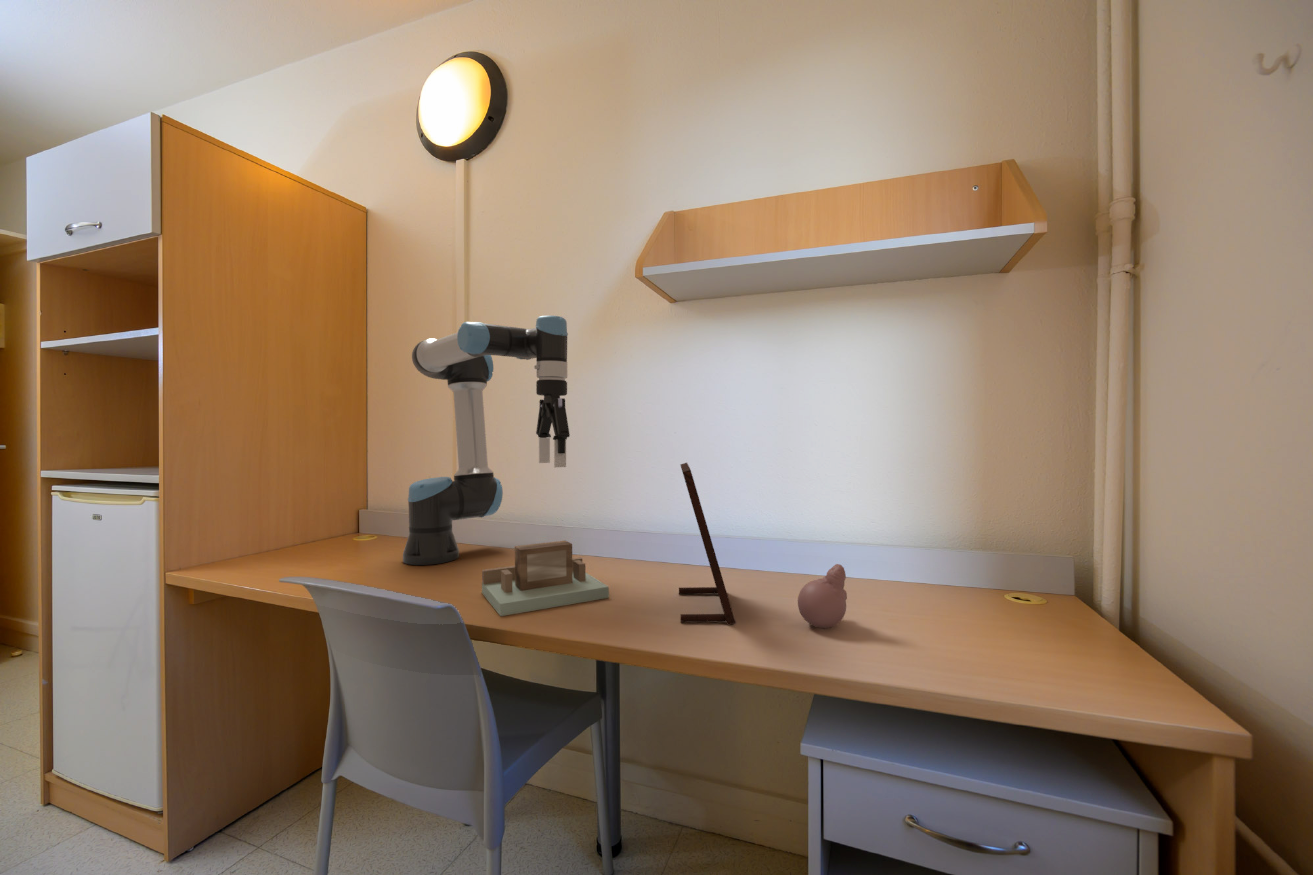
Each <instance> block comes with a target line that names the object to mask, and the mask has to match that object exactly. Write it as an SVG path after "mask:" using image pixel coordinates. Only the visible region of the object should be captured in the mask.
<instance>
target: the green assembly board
mask: <svg viewBox="0 0 1313 875" xmlns="http://www.w3.org/2000/svg"><path fill="white" fill-rule="evenodd" d="M572 573H573V583H569V584H563V585H556V586H550V587H543V588H537V589H530V590H523V591H520V590H519V589H518V588H517V587H516V586H515V565H511V566H502V567H494V568H486V569H482V570H481V577H482V578H481V580H482V581H481V594H482V595H483V596H484V598H485V599H486V600H487V601H488V602H489V604H490V605H491V607H492V608H493V609H494V610H495V611H496V612H497V614H498V615H499V616H500V617H505V616H509V615H510V616H511V615H516V614H521V613H527V612H532V611H533V612H534V611H539V610H546V609H550V608H556V607H563V606H569V605H574V604H580V603H586V602H591V601H598V600H603V599H609V597H610V590H609V589H610V587H609V585H607V584H605V583H603V582H601V581H600V580H598V579H597V578H595V577H594V576H592V575H591V574H589V573H587V572H586V563H585V562H583V558H582V557H580V556H579V557H572Z"/></svg>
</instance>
